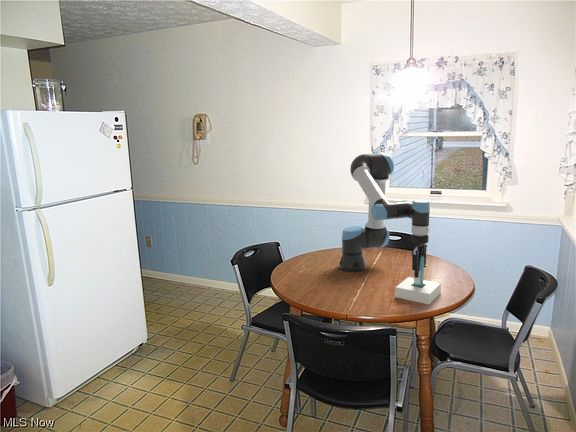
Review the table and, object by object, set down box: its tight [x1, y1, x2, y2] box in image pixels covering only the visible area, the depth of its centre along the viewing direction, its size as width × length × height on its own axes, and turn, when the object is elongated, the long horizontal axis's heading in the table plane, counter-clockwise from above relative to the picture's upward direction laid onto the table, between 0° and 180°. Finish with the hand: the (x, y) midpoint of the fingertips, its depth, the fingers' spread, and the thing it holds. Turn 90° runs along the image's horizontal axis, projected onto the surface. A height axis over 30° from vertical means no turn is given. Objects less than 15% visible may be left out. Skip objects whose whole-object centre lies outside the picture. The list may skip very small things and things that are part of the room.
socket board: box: [394, 276, 442, 305], centre depth 201 cm, size 16×16×5 cm
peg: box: [414, 256, 425, 288], centre depth 199 cm, size 4×4×16 cm
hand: (418, 282), depth 200 cm, fingers closed on peg, 4 cm apart
